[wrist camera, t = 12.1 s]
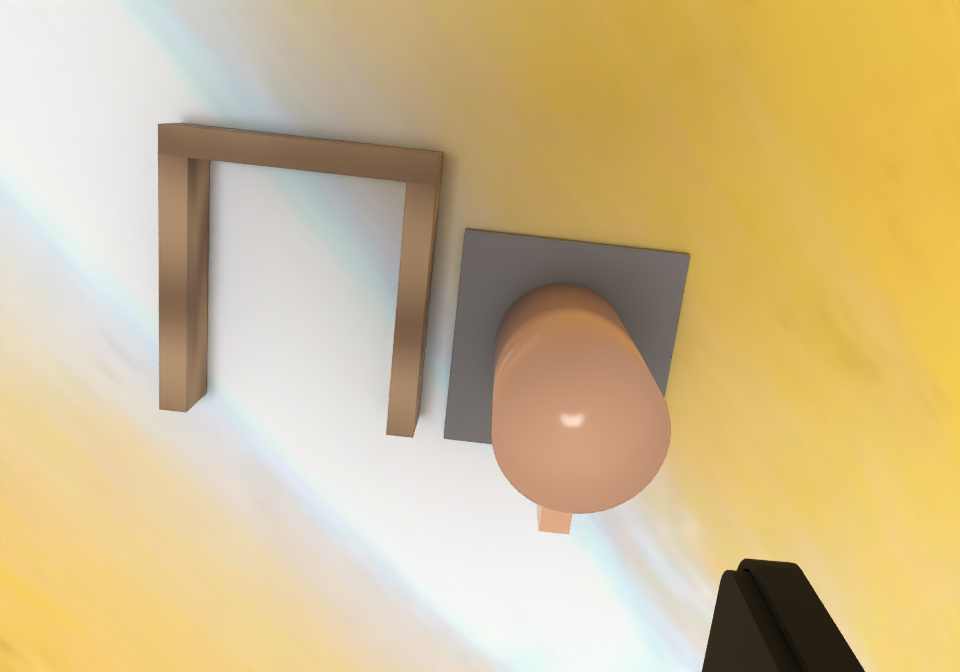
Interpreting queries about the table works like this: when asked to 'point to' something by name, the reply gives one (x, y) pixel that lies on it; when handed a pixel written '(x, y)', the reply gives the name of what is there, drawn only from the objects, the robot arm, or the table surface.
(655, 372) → the mat
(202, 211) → the brown wooden u-shaped piece
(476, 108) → the table surface
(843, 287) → the table surface
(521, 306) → the pink mug
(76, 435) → the table surface
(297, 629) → the table surface
